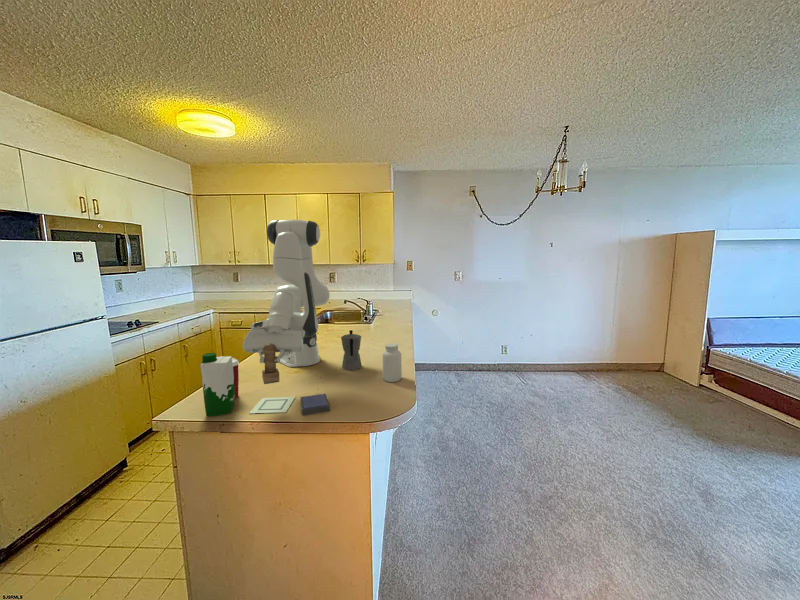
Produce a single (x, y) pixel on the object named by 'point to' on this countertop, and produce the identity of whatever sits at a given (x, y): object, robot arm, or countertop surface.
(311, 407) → the ink pad
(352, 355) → the coffeepot
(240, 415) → the countertop surface
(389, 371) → the pill bottle
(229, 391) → the milk carton
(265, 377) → the stamp
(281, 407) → the card
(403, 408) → the countertop surface
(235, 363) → the paper cup
